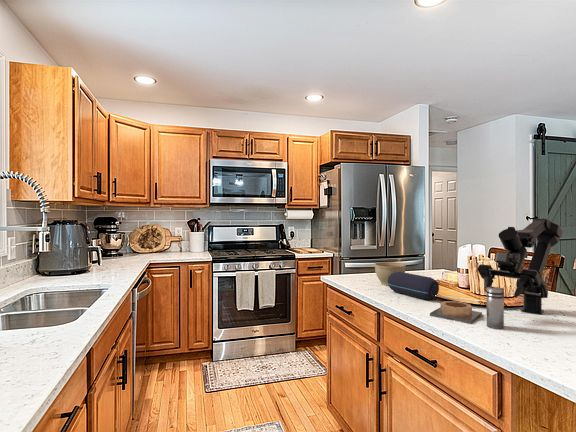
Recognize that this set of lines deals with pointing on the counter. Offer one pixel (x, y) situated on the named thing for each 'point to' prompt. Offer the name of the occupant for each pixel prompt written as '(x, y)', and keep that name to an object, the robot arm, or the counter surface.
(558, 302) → the counter surface
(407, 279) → the portable speaker
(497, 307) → the steel piston
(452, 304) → the piston socket base
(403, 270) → the planter bowl
